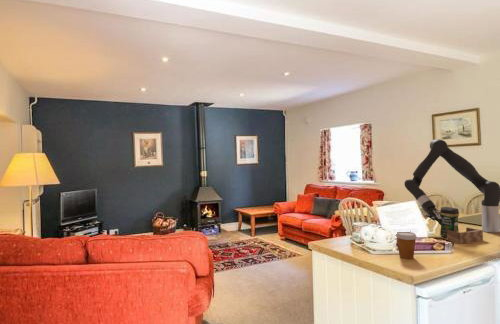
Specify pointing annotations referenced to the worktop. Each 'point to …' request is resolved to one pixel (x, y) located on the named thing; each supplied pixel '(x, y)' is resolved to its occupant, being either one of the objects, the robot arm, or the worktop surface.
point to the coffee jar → (449, 220)
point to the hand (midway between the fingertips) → (443, 224)
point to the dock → (465, 236)
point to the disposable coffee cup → (406, 244)
